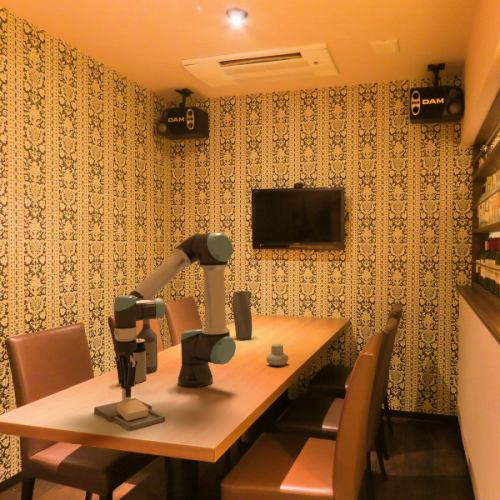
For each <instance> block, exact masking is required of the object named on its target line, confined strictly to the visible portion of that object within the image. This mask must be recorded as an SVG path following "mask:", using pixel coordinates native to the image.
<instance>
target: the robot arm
mask: <svg viewBox="0 0 500 500" xmlns="http://www.w3.org/2000/svg"><path fill="white" fill-rule="evenodd" d="M233 253H234V247H233V243H232V241H231V239H230V238H229V237H228V236H227V235H226V234H225V233H222V232H210V233H206V232H205V233H195V234H192V235H190V236H189V237H187V238H186V239H184V240H183V241H182V242H181V243H180V244H178V245H177V246H176V247H175V248H174V249H173V250H172V254H171V255H170V256H168V258H166V260H165V261H164V262H162V263H161V264H160V265H159V266H158V267H157V268H156V269H155V270H153V271H152V273H150V274H149V275H148V276H147V277H145V279H144V280H142V282H141V283H139V284H138V285H137V286H136V287H135V288H134V289H133V290H132V291H131V292H130V293H128V294H127V295H126V294H125V295H118V296H116V297H115V298H114V299H113V300H114V302H113V315H114V317H113V319H114V321H113V323H114V331H113V334H114V339H115V340H114V350H115V352H116V353H117V355H118V356H115V357H114V359H115V364H116V372H117V380H118V384H119V385H120V387H121V401H122V403H123V402H128V401H131V399H132V387H135V373H136V366H137V361H134V360H133V358H134V356H133V351H134V350H136V349H137V343H136V337H137V322H140V321H143V320H149V319H150V320H156V319H160V318H162V317H163V316H164V315H165V312H166V305H165V302H164V300H163V299H162V298H159V297H157V298H155V296H156V295H158V293H159V292H161V290H163V288H165V287H166V286H167V285H168V284H169V283H170V282H171V281H172V280H173V279H174V278H175V277H176V276H177V275H178V274H179V273H181V271H182V270H184V268H189V267H190V266H192V264H194V263H196V262H199V267H200V268H201V269H202V271H203V293H204V294H203V296H204V298H203V299H204V301H203V302H204V328H198V329H197V328H196V329H195V328H194V329H189V330H185V331H183V332H181V335H180V336H181V337H180V345H181V346H180V348H181V350H180V351H181V353H180V354H181V367H180V369H179V370H180V371H179V373H178V377H177V385H179V386H180V387H181V386H182V387H185V388H186V387H187V388H199V387H207V386H209V385H212V384H213V382H214V379H213V378H214V376H213V374H212V370H211V368H210V365H209V363H210V364H211V363H212V364H214V365H221V366H222V365H223V366H224V365H226V364H228V363H229V362H230V361H232V359H233V358H234V356H235V354H236V349H237V348H236V347H237V346H236V345H237V344H236V341H235V340H234V338H232V337H231V336H230V335H231V334H230V331H231V330H230V329H229V328H228V327H227V324H226V321H227V320H226V291H225V290H226V289H225V288H226V287H225V286H226V285H225V269H226V268H227V267H228V266H229V265H228V262H229V260H230V259H231V258H232V255H233Z"/></svg>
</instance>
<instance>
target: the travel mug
mask: <svg viewBox="0 0 500 500" xmlns="http://www.w3.org/2000/svg"><path fill="white" fill-rule="evenodd" d="M135 339H136V338H135ZM144 342H145V340H144V339H136V343H137V349H136V350H134V351H133V356H134V358H133V360H134V361H137V366H136V373H135V383H142V382H145V381H147V373H146V347H145V345H144ZM135 383H134V384H135Z"/></svg>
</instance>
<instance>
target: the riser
mask: <svg viewBox="0 0 500 500" xmlns="http://www.w3.org/2000/svg"><path fill="white" fill-rule="evenodd" d="M137 399H138V398H135V397H133V398H131V401H132V400H137ZM140 401H141V402H142V403H143V404H144V405H145V406H146V407H147V408H148V409H150V410H152V411H153V409H152V408H153V407H152V405H151V404H148V403H146V402H144V401H142V400H140ZM119 403H122V400H120V401H117V402H110V403H107V404H103V405H98V406H95V407H93V410H94V411H93V412H94V414H96V415H97V416H99V417H101V418H102V419H104V420H105V421H107V422H109V423H112V422H115V421H114V417H115V416H117V417H118V418H123V417H122V416H121V415H120V414H119V412H118V411H117V404H119Z"/></svg>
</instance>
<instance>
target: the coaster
mask: <svg viewBox="0 0 500 500" xmlns="http://www.w3.org/2000/svg"><path fill="white" fill-rule="evenodd" d="M136 399H137V400H132V401H128V402H123V403H119V404H117V411H118V412H119V414H120V415H121V416H122V417H123V418H124V419H125V420H126V421H129V420H133V419H137V418H141V417H145V416H148V411H149V409H148V408H147V407H146V406H145V405H144V404H143V403H142V402H143V401H142V400H140V399H138V398H136ZM141 401H142V402H141Z"/></svg>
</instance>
